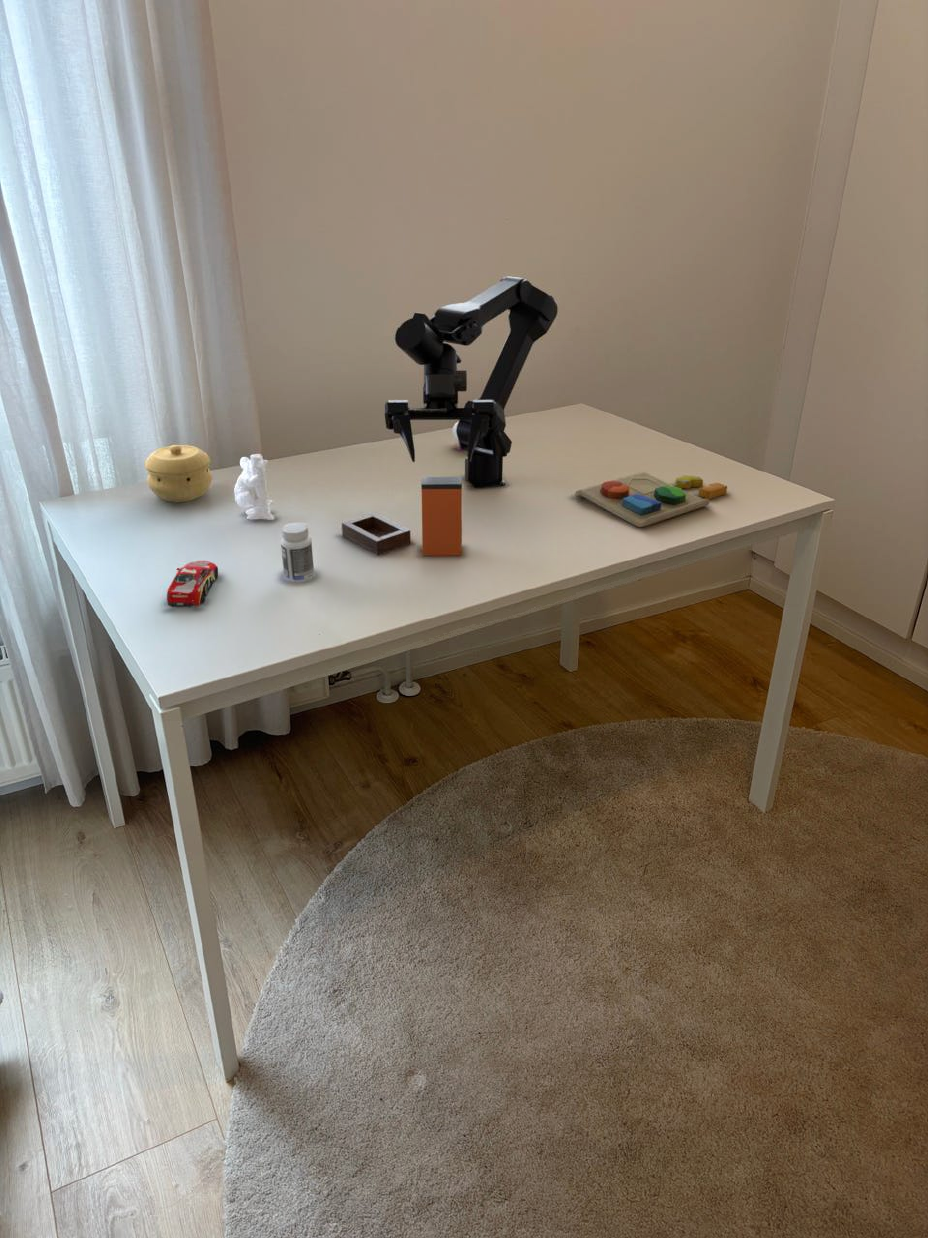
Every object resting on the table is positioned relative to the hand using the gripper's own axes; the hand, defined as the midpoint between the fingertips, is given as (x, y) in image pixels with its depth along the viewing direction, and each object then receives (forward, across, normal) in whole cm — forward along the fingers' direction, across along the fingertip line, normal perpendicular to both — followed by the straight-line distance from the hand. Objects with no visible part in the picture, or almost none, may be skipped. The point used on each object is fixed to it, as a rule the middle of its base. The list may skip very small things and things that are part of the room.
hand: (441, 460), depth 160 cm
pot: (-3, -48, +21) cm, 53 cm away
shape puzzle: (-1, +40, +20) cm, 45 cm away
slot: (+11, -11, +7) cm, 17 cm away
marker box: (+15, 0, +4) cm, 15 cm away
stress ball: (-23, +6, +41) cm, 47 cm away
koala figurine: (+4, -33, +15) cm, 36 cm away
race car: (+25, -38, -6) cm, 46 cm away
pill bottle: (+21, -22, -3) cm, 31 cm away
